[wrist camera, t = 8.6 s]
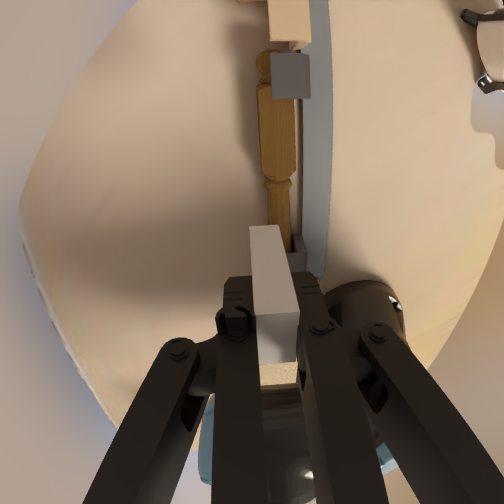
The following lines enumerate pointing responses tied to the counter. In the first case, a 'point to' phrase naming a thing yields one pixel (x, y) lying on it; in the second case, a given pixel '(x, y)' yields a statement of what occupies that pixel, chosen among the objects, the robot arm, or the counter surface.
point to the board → (307, 116)
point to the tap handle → (276, 149)
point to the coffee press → (489, 46)
